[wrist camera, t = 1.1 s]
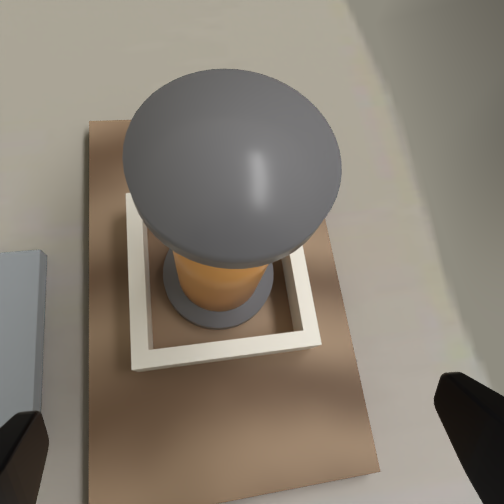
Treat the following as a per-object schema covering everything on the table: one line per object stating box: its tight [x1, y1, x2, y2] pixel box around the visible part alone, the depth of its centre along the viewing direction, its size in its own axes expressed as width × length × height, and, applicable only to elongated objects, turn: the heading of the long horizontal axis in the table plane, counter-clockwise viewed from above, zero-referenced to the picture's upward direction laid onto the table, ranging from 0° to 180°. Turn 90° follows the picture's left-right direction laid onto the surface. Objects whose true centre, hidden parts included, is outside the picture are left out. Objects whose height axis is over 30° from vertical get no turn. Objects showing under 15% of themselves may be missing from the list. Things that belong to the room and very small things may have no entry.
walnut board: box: [89, 120, 380, 504], centre depth 22 cm, size 22×14×1 cm, turn 8°
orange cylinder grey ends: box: [122, 69, 342, 330], centre depth 16 cm, size 6×6×12 cm
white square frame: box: [126, 193, 322, 372], centre depth 21 cm, size 9×9×2 cm
